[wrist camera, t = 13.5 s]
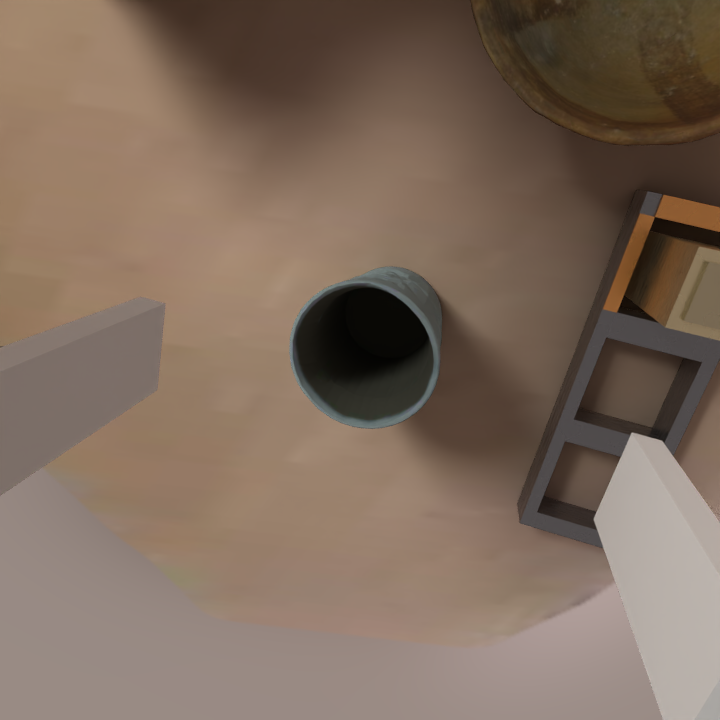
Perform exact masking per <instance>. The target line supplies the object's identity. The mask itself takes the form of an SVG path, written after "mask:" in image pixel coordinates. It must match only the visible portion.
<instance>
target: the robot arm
mask: <svg viewBox="0 0 720 720" xmlns="http://www.w3.org/2000/svg"><path fill="white" fill-rule="evenodd" d="M165 304H166V303H162V302H158V301H155V300H151V299H148V298H144V297H139V298H136V299H133V300H130V301H128V302H125V303H122V304H119V305H117V306H114V307H111V308H108V309H105V310H103V311H100V312H97V313H94V314H92V315H89V316H86V317H83V318H81V319H78V320H75V321H72V322H69V323H67V324H64V325H61V326H58V327H56V328H53V329H50V330H47V331H45V332H42V333H39V334H36V335H33V336H31V337H28V338H25V339H22V340H20V341H17V342H14V343H11V344H9V345H6V346H1V347H0V496H1V495H2V494H3V493H5V492H6V491H8V490H10V489H11V488H13V487H14V486H16V485H17V484H18V483H20V482H21V481H23V480H24V479H26V478H27V477H29V476H30V475H32V474H33V473H35V472H36V471H38V470H39V469H41V468H42V467H44V466H45V465H47V464H48V463H50V462H51V461H53V460H54V459H56V458H57V457H59V456H60V455H62V454H63V453H65V452H66V451H67V450H69V449H70V448H72V447H73V446H75V445H76V444H78V443H79V442H81V441H82V440H84V439H85V438H87V437H88V436H90V435H91V434H93V433H94V432H96V431H97V430H99V429H100V428H102V427H103V426H105V425H106V424H108V423H109V422H111V421H112V420H114V419H115V418H116V417H118V416H119V415H121V414H122V413H124V412H125V411H127V410H128V409H130V408H131V407H133V406H134V405H136V404H137V403H139V402H140V401H142V400H143V399H145V398H146V397H148V396H149V395H151V394H152V393H154V392H155V391H157V388H158V378H159V367H160V356H161V346H162V335H163V325H164V314H165ZM594 522H595V525H596V528H597V530H598V533H599V536H600V539H601V542H602V545H603V548H604V551H605V554H606V556H607V559H608V562H609V565H610V568H611V571H612V574H613V577H614V580H615V583H616V585H617V588H618V591H619V594H620V597H621V600H622V603H623V605H624V608H625V611H626V614H627V617H628V620H629V623H630V626H631V629H632V632H633V635H634V637H635V640H636V643H637V646H638V649H639V652H640V655H641V658H642V660H643V663H644V666H645V669H646V672H647V675H648V678H649V681H650V684H651V687H652V689H653V692H654V695H655V698H656V701H657V704H658V707H659V710H660V712H661V716H662V718H663V720H720V522H719V520H718V519H717V518H716V516H715V515H714V513H713V512H712V511H711V509H710V508H709V506H708V505H707V504H706V502H705V501H704V499H703V498H702V496H701V495H700V494H699V492H698V491H697V489H696V488H695V487H694V485H693V484H692V482H691V481H690V479H689V478H688V477H687V475H686V474H685V472H684V471H683V470H682V468H681V467H680V465H679V464H678V463H677V461H676V460H675V458H674V457H673V455H672V454H671V453H670V451H669V450H668V448H667V447H666V446H665V444H664V443H663V441H661V440H658V439H654V438H651V437H647V436H643V435H640V434H636V433H631V435H630V438H629V440H628V442H627V445H626V447H625V449H624V451H623V454H622V456H621V458H620V460H619V463H618V465H617V467H616V469H615V472H614V474H613V476H612V478H611V481H610V483H609V485H608V487H607V490H606V492H605V494H604V497H603V499H602V501H601V503H600V506H599V508H598V510H597V512H596V515H595V517H594Z"/></svg>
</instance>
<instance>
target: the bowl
mask: <svg viewBox="0 0 720 720" xmlns="http://www.w3.org/2000/svg"><path fill="white" fill-rule="evenodd" d="M470 1H471V6H472V11H473V16H474V19H475V22H476V25H477V28H478V31H479V35H480V37H481V40H482V43H483V46H484V48H485V50H486V51H487V53H488V55H489V57H490V59H491V60H492V62H493V64H494V65H495V67H496V68H497V70H498V71H499V73H500V74H501V76H502V77H503V79H504V80H505V81H506V82H507V83H508V84H509V85H510V86H511V88H512V89H513V90H514V91H515V92H516V94H517V95H518V96H519V97H520V98H521V99H522V100H523V101H524V103H526V104H527V105H528V106H529V107H530V108H531V109H532V110H533V111H535V112H536V113H538V114H540V115H542V116H544V117H545V118H547V119H548V120H550V121H552V122H553V123H555V124H557V125H559V126H562V127H564V128H567V129H569V130H571V131H573V132H575V133H578V134H580V135H583V136H586V137H589V138H591V139H594V140H598V141H601V142H606V143H610V144H615V145H627V146H629V145H672V144H680V143H687V142H693V141H696V140H700V139H703V138H706V137H709V136H712V135H715V134H718V133H720V0H470Z"/></svg>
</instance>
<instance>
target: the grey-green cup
mask: <svg viewBox="0 0 720 720" xmlns="http://www.w3.org/2000/svg"><path fill="white" fill-rule="evenodd" d="M441 329H442V311H441V305H440V302H439V299H438V297H437V295H436V293H435V291H434V289H433V288H432V287H431V286H430V285H429V283H428V282H427V281H426V280H424V279H423V278H422V277H421V276H419V275H418V274H416V273H414V272H412V271H410V270H407V269H404V268H400V267H382V268H377V269H374V270H371V271H369V272H367V273H365V274H363V275H361V276H358V277H354V278H352V279H350V280H347V281H343V282H340V283H337V284H334V285H331V286H329V287H327V288H325V289H323V290H322V291H320V292H319V293H317V294H316V295H315V296H313V297H312V298H311V299H310V300H309V301H308V302H307V303H306V304H305V306H304V307H303V308H302V309H301V311H300V313H299V314H298V316H297V318H296V320H295V322H294V325H293V328H292V332H291V336H290V352H289V353H290V360H291V366H292V370H293V373H294V375H295V378H296V380H297V383H298V384H299V386H300V388H301V389H302V391H303V393H304V394H305V395H306V396H307V397H308V398H309V399H310V400H311V402H312V403H313V404H314V405H315V406H316V407H317V408H318V409H319V410H321V411H322V412H323V413H325V414H326V415H327V416H329V417H330V418H332V419H334V420H336V421H338V422H340V423H343V424H346V425H349V426H352V427H358V428H370V429H375V428H384V427H388V426H392V425H395V424H398V423H400V422H402V421H404V420H406V419H408V418H409V417H411V416H412V415H414V414H415V413H416V412H417V411H419V410H420V409H421V408H422V407H423V406H424V404H425V403H426V402H427V400H428V399H429V398H430V396H431V394H432V393H433V391H434V388H435V386H436V383H437V380H438V376H439V370H440V346H441V340H442V332H441Z"/></svg>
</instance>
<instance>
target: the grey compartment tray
mask: <svg viewBox="0 0 720 720" xmlns="http://www.w3.org/2000/svg"><path fill="white" fill-rule="evenodd" d="M655 217H657V218H662V219H666V220H670V221H675V222H679V223H683V224H688V225H692V226H696V227H700V228H705V229H709V230H713V231H718V232H720V207H716V206H711V205H707V204H703V203H698V202H694V201H689V200H685V199H681V198H676V197H672V196H667V195H663V194H658V193H654V192H649V191H640V190H636V192H635V194H634V197H633V199H632V202H631V205H630V207H629V210H628V213H627V215H626V218H625V221H624V223H623V226H622V229H621V231H620V234H619V236H618V239H617V242H616V244H615V247H614V250H613V252H612V255H611V258H610V260H609V263H608V265H607V268H606V271H605V273H604V276H603V279H602V281H601V284H600V287H599V289H598V292H597V294H596V297H595V300H594V302H593V305H592V308H591V310H590V313H589V316H588V318H587V321H586V324H585V326H584V329H583V331H582V334H581V337H580V339H579V342H578V345H577V347H576V350H575V353H574V355H573V358H572V360H571V363H570V366H569V368H568V371H567V374H566V376H565V379H564V382H563V384H562V387H561V390H560V392H559V395H558V397H557V400H556V403H555V405H554V408H553V411H552V413H551V416H550V419H549V421H548V424H547V426H546V429H545V432H544V434H543V437H542V440H541V442H540V445H539V448H538V450H537V453H536V456H535V458H534V461H533V463H532V466H531V469H530V471H529V474H528V477H527V479H526V482H525V485H524V487H523V490H522V492H521V495H520V498H519V500H518V503H517V506H518V514H519V522H520V523H521V524H524V525H528V526H531V527H534V528H538V529H541V530H544V531H548V532H551V533H554V534H558V535H561V536H564V537H568V538H571V539H574V540H578V541H581V542H584V543H588V544H591V545H594V546H598V547H601V548H603V545H602V542H601V539H600V536H599V533H598V530H597V528H596V525H595V522H594V517H595V515H596V512H595V511H592V510H588V509H585V508H581V507H578V506H575V505H571V504H568V503H564V502H561V501H558V500H554V499H551V498H547V497H544V493H545V491H546V488H547V486H548V483H549V480H550V478H551V475H552V473H553V470H554V468H555V465H556V463H557V460H558V458H559V455H560V453H561V450H562V448H563V445H564V443H565V441H566V442H570V443H573V444H577V445H580V446H584V447H588V448H591V449H595V450H598V451H602V452H605V453H609V454H612V455H616V456H619V457H621V456H622V454H623V451H624V449H625V447H626V445H627V442H628V440H629V438H630V435H631V433H636V434H640V435H643V436H647V437H651V438H654V439H658V440H661V441H663V443H664V444H665V446H666V447H667V448H668V450H669V451H670V453H671V454H672V455H674V453H675V451H676V449H677V447H678V445H679V443H680V441H681V438H682V436H683V434H684V432H685V430H686V428H687V426H688V424H689V422H690V420H691V418H692V416H693V413H694V411H695V409H696V407H697V405H698V403H699V401H700V399H701V397H702V395H703V393H704V391H705V388H706V386H707V384H708V382H709V380H710V378H711V376H712V374H713V372H714V370H715V368H716V366H717V364H718V361H719V359H720V341H719V340H715V339H711V338H706V337H702V336H698V335H694V334H690V333H686V332H682V331H678V330H674V329H669V328H665V327H664V326H663V325H661V324H660V323H659V322H658V321H656V320H655V319H654V318H653V317H651V316H650V315H649V314H647V313H643V312H639V311H635V310H631V309H627V308H623V307H619V306H620V304H621V301H622V299H623V296H624V294H625V291H626V289H627V286H628V284H629V281H630V278H631V276H632V273H633V271H634V268H635V266H636V263H637V261H638V258H639V256H640V253H641V251H642V248H643V246H644V243H645V241H646V238H647V236H648V233H649V231H650V228H651V226H652V223H653V221H654V218H655ZM606 338H610V339H614V340H618V341H622V342H626V343H630V344H634V345H637V346H641V347H645V348H649V349H653V350H657V351H661V352H664V353H668V354H672V355H676V356H680V357H684V359H683V362H682V364H681V366H680V368H679V370H678V373H677V375H676V377H675V379H674V381H673V384H672V386H671V388H670V390H669V392H668V395H667V397H666V399H665V401H664V403H663V405H662V408H661V410H660V412H659V414H658V416H657V419H656V421H655V423H654V425H653V427H652V428H651V427H647V426H643V425H640V424H636V423H632V422H629V421H625V420H621V419H618V418H614V417H610V416H607V415H603V414H600V413H596V412H592V411H589V410H585V409H581V408H578V407H579V405H580V402H581V400H582V397H583V395H584V392H585V390H586V387H587V385H588V382H589V380H590V377H591V375H592V372H593V369H594V367H595V364H596V362H597V359H598V357H599V354H600V352H601V349H602V347H603V344H604V342H605V339H606Z"/></svg>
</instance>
